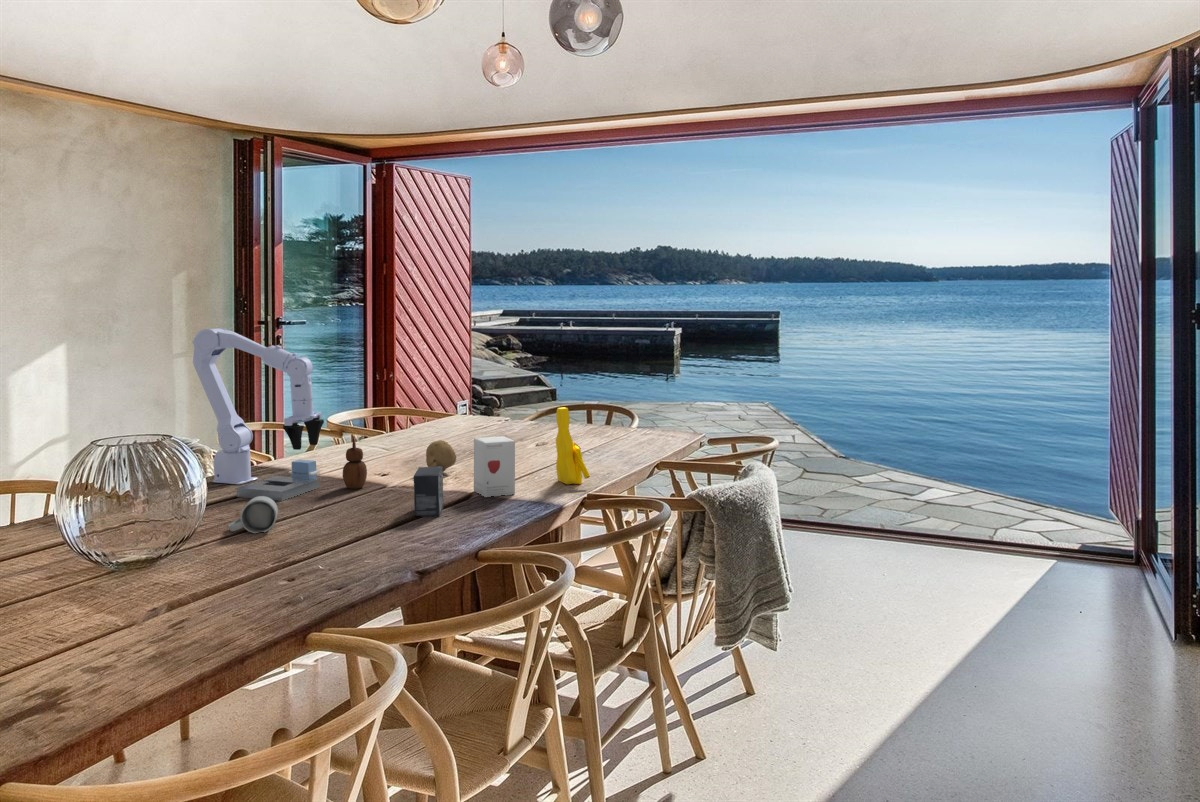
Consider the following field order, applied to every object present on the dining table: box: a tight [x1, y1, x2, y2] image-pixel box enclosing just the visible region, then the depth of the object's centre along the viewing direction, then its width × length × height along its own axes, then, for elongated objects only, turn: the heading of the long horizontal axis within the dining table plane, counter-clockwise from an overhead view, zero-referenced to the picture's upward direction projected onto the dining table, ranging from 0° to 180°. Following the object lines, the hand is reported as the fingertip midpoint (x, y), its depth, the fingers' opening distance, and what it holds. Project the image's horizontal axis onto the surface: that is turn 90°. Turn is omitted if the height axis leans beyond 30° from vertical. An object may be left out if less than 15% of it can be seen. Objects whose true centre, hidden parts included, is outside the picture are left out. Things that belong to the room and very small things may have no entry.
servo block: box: [288, 459, 321, 479], centre depth 250 cm, size 8×4×6 cm, turn 73°
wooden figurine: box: [342, 435, 368, 490], centre depth 243 cm, size 7×6×15 cm
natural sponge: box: [425, 439, 457, 473], centre depth 264 cm, size 9×9×10 cm
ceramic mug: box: [227, 496, 279, 534], centre depth 200 cm, size 11×8×8 cm
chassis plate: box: [236, 475, 320, 502], centre depth 237 cm, size 14×16×2 cm
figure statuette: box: [555, 406, 591, 485], centre depth 251 cm, size 18×8×22 cm, turn 28°
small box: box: [413, 466, 445, 518], centre depth 217 cm, size 11×6×10 cm, turn 5°
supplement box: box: [473, 435, 516, 498], centre depth 238 cm, size 9×9×15 cm
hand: (305, 447), depth 249 cm, fingers open, 7 cm apart
